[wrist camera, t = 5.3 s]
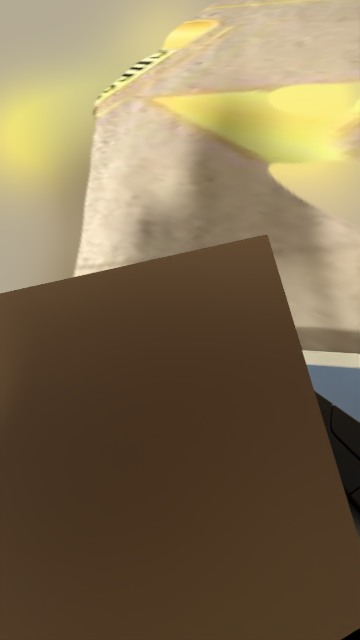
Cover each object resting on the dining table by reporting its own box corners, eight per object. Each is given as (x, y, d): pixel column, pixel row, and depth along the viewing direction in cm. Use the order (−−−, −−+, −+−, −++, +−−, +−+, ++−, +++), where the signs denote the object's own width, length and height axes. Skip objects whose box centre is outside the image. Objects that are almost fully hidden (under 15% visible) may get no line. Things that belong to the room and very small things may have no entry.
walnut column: (244, 432, 14) (434, 788, 2) (164, 442, 14) (-114, 765, 2) (227, 350, 15) (267, 234, 3) (155, 362, 16) (-46, 304, 4)
